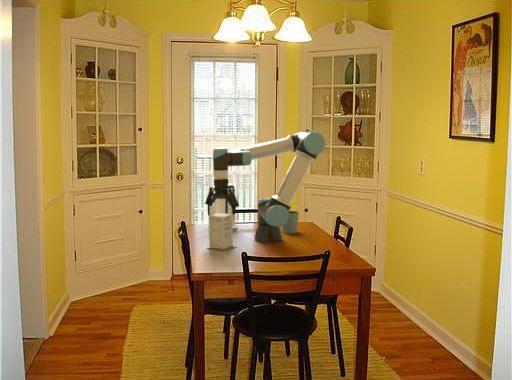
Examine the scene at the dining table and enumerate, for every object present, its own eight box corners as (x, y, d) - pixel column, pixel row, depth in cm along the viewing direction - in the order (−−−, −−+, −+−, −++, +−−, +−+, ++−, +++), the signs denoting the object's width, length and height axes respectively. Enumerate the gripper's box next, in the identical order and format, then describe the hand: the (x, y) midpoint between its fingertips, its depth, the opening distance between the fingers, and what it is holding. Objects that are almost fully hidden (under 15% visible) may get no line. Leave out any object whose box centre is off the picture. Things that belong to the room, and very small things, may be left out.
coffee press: (235, 226, 363) (235, 177, 359) (238, 231, 348) (238, 180, 344) (207, 226, 361) (207, 178, 357) (209, 232, 345) (208, 181, 341)
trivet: (236, 247, 307) (236, 246, 307) (223, 251, 298) (223, 250, 298) (220, 244, 313) (220, 243, 313) (206, 248, 304) (206, 247, 304)
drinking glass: (278, 232, 343) (278, 212, 342) (286, 229, 352) (287, 210, 350) (293, 234, 338) (293, 214, 336) (301, 231, 346) (301, 211, 345)
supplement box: (233, 245, 308) (233, 214, 305) (224, 249, 300) (224, 216, 297) (217, 244, 312) (217, 212, 310) (208, 247, 304) (208, 215, 302)
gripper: (245, 178, 297) (246, 220, 300) (206, 176, 311) (208, 215, 314) (236, 180, 291) (237, 222, 294) (197, 177, 305) (199, 218, 308)
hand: (222, 219), depth 304 cm, fingers open, 13 cm apart
